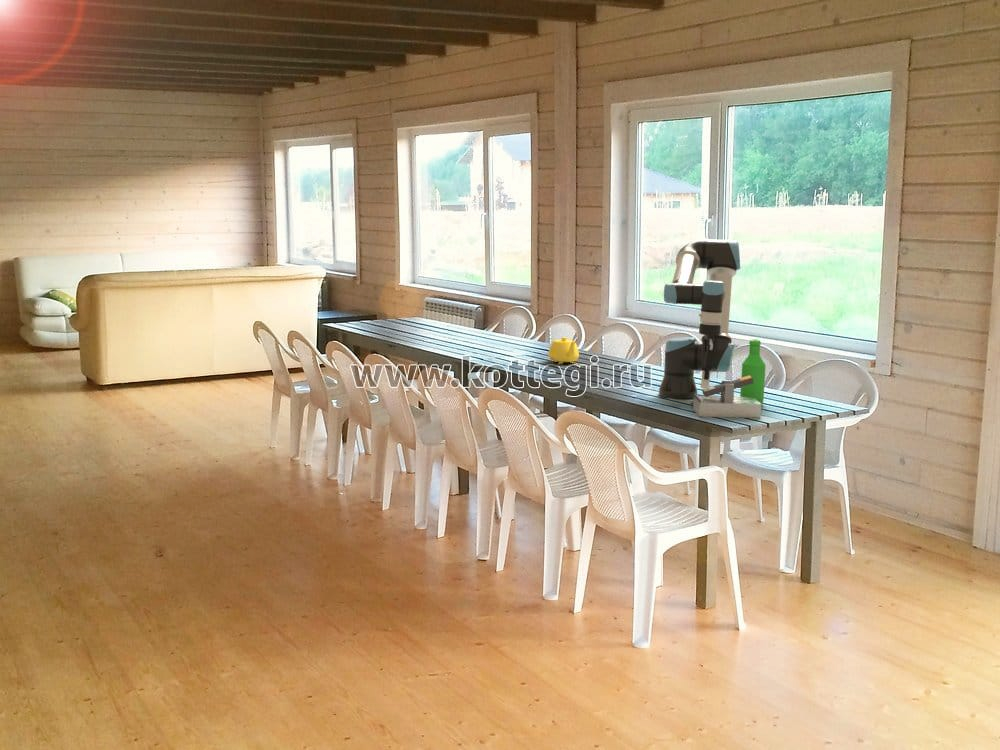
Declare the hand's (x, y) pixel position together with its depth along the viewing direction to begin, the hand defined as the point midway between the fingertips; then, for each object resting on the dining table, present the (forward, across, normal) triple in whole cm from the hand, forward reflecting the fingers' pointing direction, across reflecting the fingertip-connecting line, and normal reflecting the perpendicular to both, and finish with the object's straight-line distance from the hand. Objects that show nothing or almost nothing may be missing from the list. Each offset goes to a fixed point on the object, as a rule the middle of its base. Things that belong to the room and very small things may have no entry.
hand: (704, 387), depth 369 cm
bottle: (+9, -18, +22) cm, 30 cm away
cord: (+9, -13, +6) cm, 17 cm away
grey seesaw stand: (+9, 0, +9) cm, 12 cm away
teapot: (+10, -111, -48) cm, 121 cm away
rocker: (-1, 0, +8) cm, 8 cm away
